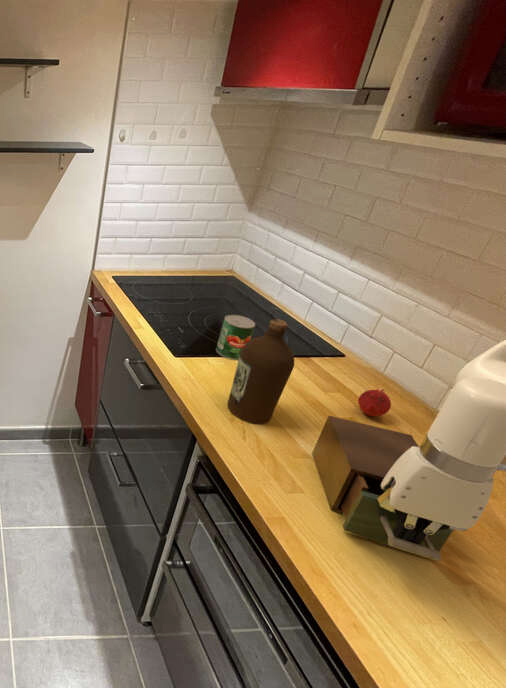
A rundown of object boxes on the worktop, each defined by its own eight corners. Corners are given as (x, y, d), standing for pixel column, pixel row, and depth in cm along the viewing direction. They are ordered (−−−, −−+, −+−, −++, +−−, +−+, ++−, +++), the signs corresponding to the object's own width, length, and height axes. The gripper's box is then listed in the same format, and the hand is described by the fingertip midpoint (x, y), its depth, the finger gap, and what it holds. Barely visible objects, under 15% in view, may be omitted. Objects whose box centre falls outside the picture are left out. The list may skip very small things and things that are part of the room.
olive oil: (265, 401, 113) (297, 314, 103) (280, 430, 103) (316, 337, 93) (220, 394, 115) (246, 308, 105) (229, 421, 106) (259, 329, 96)
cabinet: (422, 537, 79) (450, 495, 75) (330, 510, 84) (351, 468, 80) (389, 474, 92) (411, 435, 88) (311, 453, 97) (328, 415, 93)
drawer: (451, 591, 70) (478, 554, 66) (354, 559, 74) (375, 522, 71) (400, 493, 87) (419, 459, 83) (323, 472, 91) (339, 439, 87)
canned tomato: (229, 344, 138) (238, 312, 134) (251, 357, 132) (262, 325, 127) (209, 348, 136) (218, 316, 131) (231, 362, 129) (241, 329, 124)
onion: (385, 426, 105) (399, 399, 102) (355, 417, 108) (368, 390, 105) (381, 412, 110) (394, 386, 106) (352, 404, 112) (364, 378, 109)
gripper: (509, 456, 66) (451, 540, 73) (383, 426, 71) (341, 507, 79) (543, 494, 59) (476, 582, 67) (401, 458, 65) (354, 542, 72)
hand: (403, 541), depth 73 cm, fingers closed
